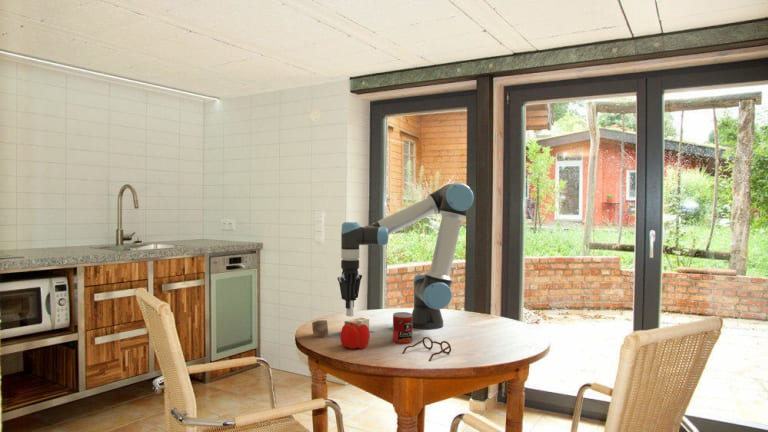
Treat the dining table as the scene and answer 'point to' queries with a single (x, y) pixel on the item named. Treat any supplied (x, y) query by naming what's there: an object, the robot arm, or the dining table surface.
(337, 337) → the rubber mat
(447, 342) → the glasses
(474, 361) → the dining table surface
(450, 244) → the robot arm
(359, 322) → the birch block
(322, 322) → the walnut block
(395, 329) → the canned food
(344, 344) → the tomato
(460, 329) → the dining table surface
